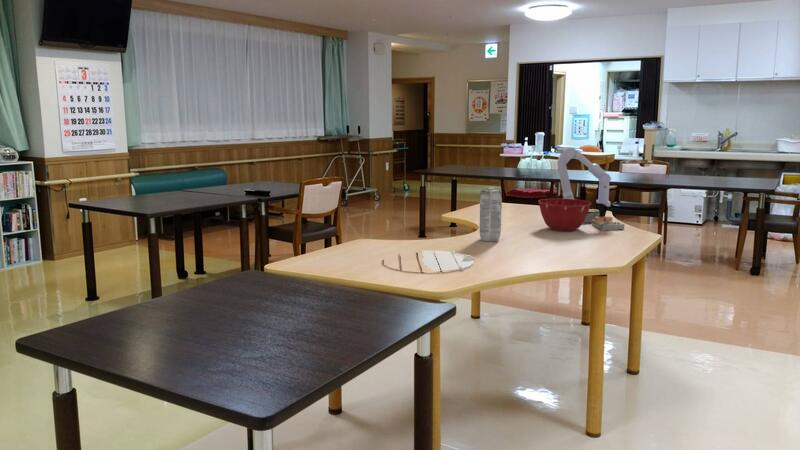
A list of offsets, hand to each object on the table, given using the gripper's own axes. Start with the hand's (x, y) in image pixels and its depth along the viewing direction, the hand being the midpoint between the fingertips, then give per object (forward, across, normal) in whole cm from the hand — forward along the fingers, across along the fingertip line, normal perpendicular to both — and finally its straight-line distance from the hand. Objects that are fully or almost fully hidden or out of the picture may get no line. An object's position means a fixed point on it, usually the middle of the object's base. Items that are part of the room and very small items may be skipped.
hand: (602, 217), depth 361 cm
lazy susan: (+4, -82, +115) cm, 141 cm away
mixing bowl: (+4, -14, +28) cm, 32 cm away
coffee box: (+1, +11, -4) cm, 12 cm away
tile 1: (+1, -7, +5) cm, 8 cm away
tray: (+4, -15, +2) cm, 16 cm away
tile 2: (+1, -7, 0) cm, 7 cm away
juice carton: (+4, -39, +77) cm, 86 cm away
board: (+4, -8, +2) cm, 9 cm away
